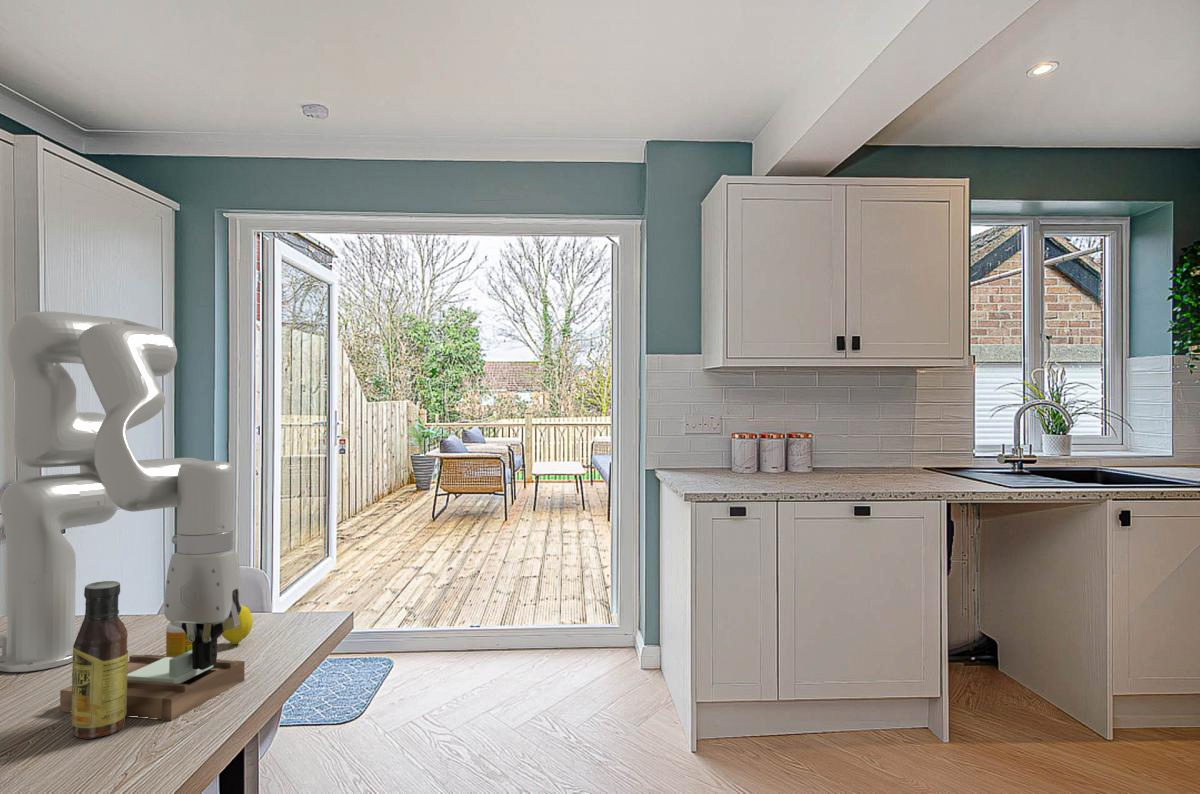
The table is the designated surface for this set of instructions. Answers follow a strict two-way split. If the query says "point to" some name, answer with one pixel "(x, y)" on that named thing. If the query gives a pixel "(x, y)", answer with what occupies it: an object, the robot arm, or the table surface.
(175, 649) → the supplement bottle
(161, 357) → the robot arm
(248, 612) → the fruit
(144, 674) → the lid
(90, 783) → the table surface
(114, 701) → the sauce bottle
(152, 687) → the wooden tray
